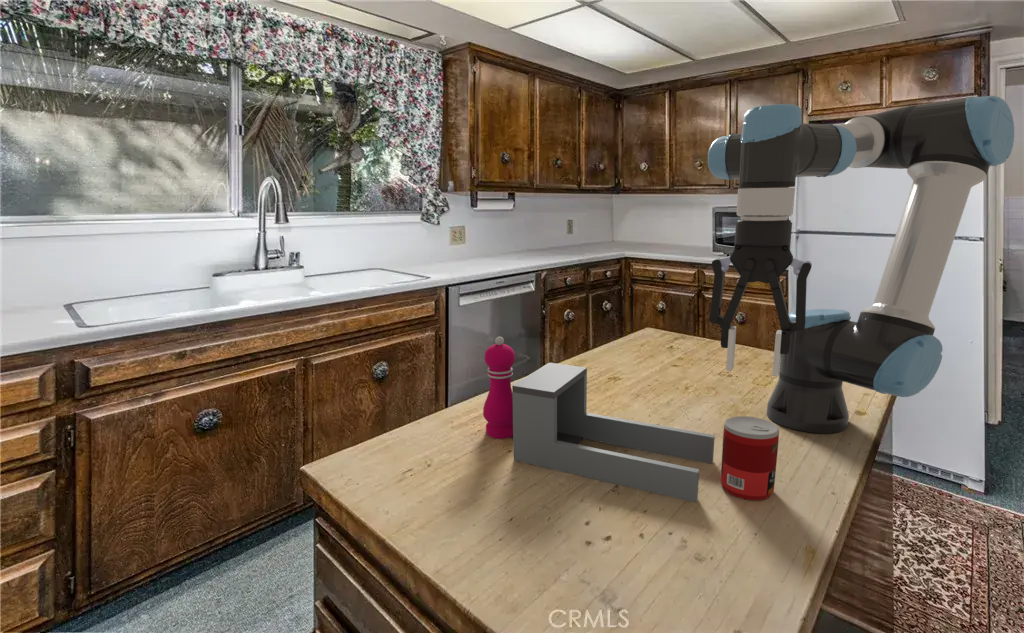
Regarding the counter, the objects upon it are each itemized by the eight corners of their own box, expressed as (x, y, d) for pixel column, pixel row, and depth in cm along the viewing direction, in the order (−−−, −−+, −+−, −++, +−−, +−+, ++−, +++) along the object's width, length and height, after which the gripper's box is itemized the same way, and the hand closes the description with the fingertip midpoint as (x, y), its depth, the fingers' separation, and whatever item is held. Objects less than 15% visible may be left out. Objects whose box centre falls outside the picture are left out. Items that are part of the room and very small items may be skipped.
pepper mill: (493, 443, 110) (490, 343, 105) (477, 429, 116) (474, 335, 112) (525, 435, 113) (524, 338, 109) (509, 422, 119) (507, 330, 115)
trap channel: (713, 461, 101) (717, 385, 98) (696, 502, 87) (701, 416, 84) (549, 429, 116) (549, 362, 113) (513, 460, 102) (512, 385, 99)
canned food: (780, 503, 87) (786, 436, 84) (725, 499, 88) (730, 433, 86) (766, 478, 94) (771, 416, 92) (715, 476, 95) (719, 414, 93)
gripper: (837, 217, 81) (822, 372, 86) (701, 217, 90) (694, 357, 95) (838, 219, 75) (821, 387, 79) (692, 219, 83) (684, 369, 88)
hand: (752, 370), depth 87 cm, fingers open, 6 cm apart
